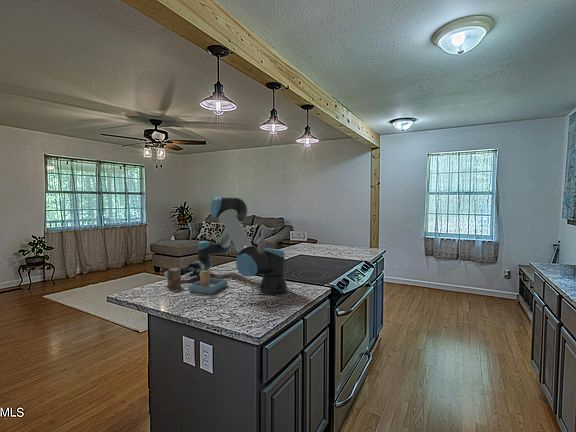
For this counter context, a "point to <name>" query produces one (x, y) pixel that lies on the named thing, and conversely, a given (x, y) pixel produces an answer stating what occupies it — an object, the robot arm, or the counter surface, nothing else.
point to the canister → (205, 278)
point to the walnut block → (174, 278)
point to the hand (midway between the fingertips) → (175, 275)
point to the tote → (214, 287)
